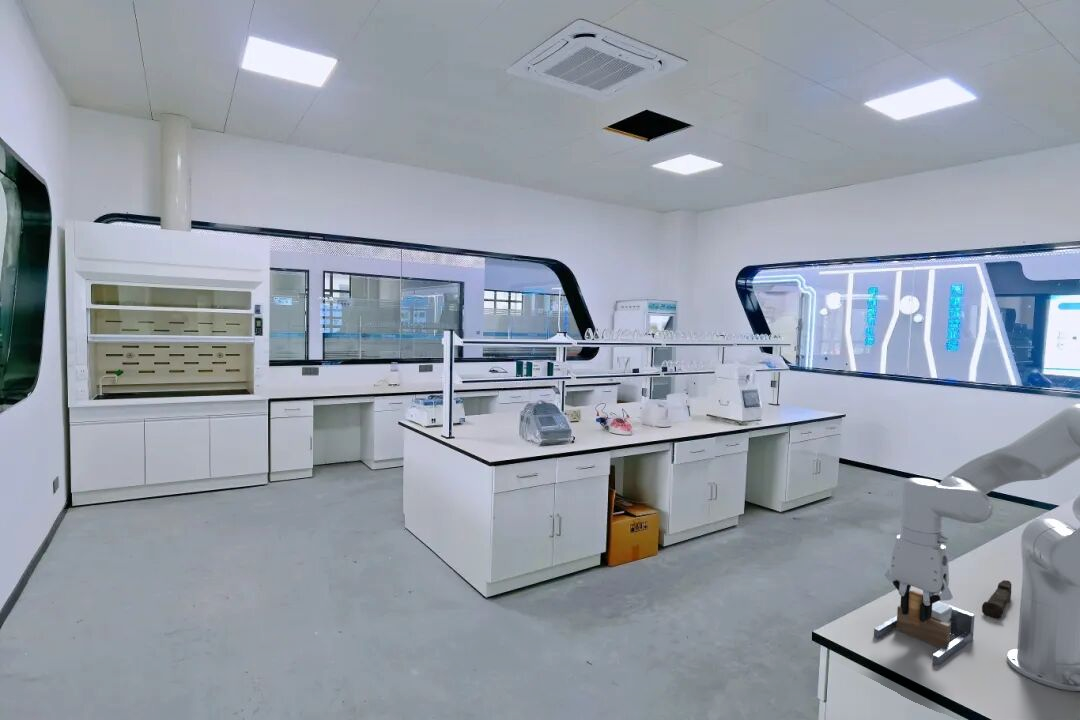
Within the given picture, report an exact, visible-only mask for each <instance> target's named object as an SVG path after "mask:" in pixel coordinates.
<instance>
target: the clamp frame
mask: <svg viewBox="0 0 1080 720" xmlns="http://www.w3.org/2000/svg"><path fill="white" fill-rule="evenodd" d="M938 602H941V603H944V604H947V605H949V606H951V607H952V613H951V631H950V633H951V634H950V635H952V634H954V635H955V638H954V639H953V640H951V641H950V642H949V644H947V645H946V646H944V647H943V648H939V649H938V650H937V651H936V652H934V653H933V654H932V662H931V663H932V665H934V666H937V667H938V666H940V665H941V664H943V663H944V662H945V661H947V660H948V659H950V658H951V657H952V656H954V655H955V654H956V653H958V652H959V651H961V650H962V649H963V648H964V647H966V646H967V645H968V644H969V643H971V642H973V640H974V630H975V617H976V616H975V614H974V613H972V612H969V611H966V610H963V609H961V608H959V607H956V606H953V605H950V604H948V603H945V602H942V601H938ZM896 627H897V615H895V616H893V617H892V618H890V619H888V620H887V621H885V622H883V623H881V624H880V625H878V626H876V627H875V628H873V638H874V639H876V640H879V639H881V638H882V637H884V636H886V635H888V634H889V633H891V632H892V631H895V630H897V629H896ZM954 635H953V636H954Z"/></svg>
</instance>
